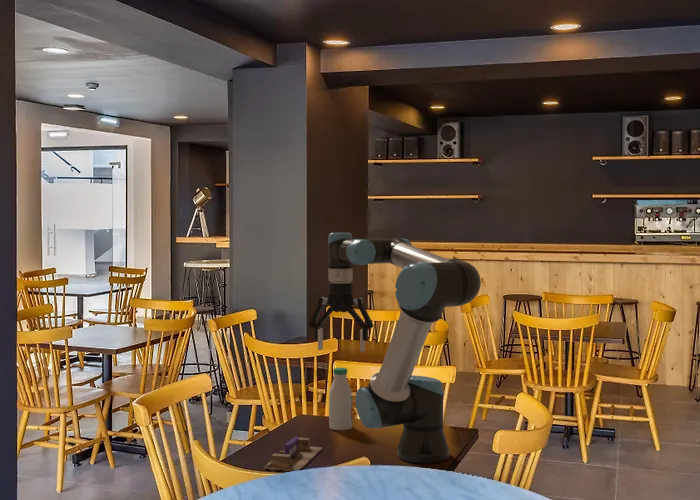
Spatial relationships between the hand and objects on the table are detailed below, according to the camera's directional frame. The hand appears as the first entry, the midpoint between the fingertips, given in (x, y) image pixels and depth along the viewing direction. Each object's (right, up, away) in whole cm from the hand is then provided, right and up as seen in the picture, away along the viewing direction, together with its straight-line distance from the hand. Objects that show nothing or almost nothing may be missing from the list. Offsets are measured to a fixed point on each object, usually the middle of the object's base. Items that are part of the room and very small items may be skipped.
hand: (341, 350), depth 239 cm
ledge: (-13, -29, -17) cm, 36 cm away
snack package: (-14, -29, -16) cm, 36 cm away
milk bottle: (0, -28, +17) cm, 33 cm away
